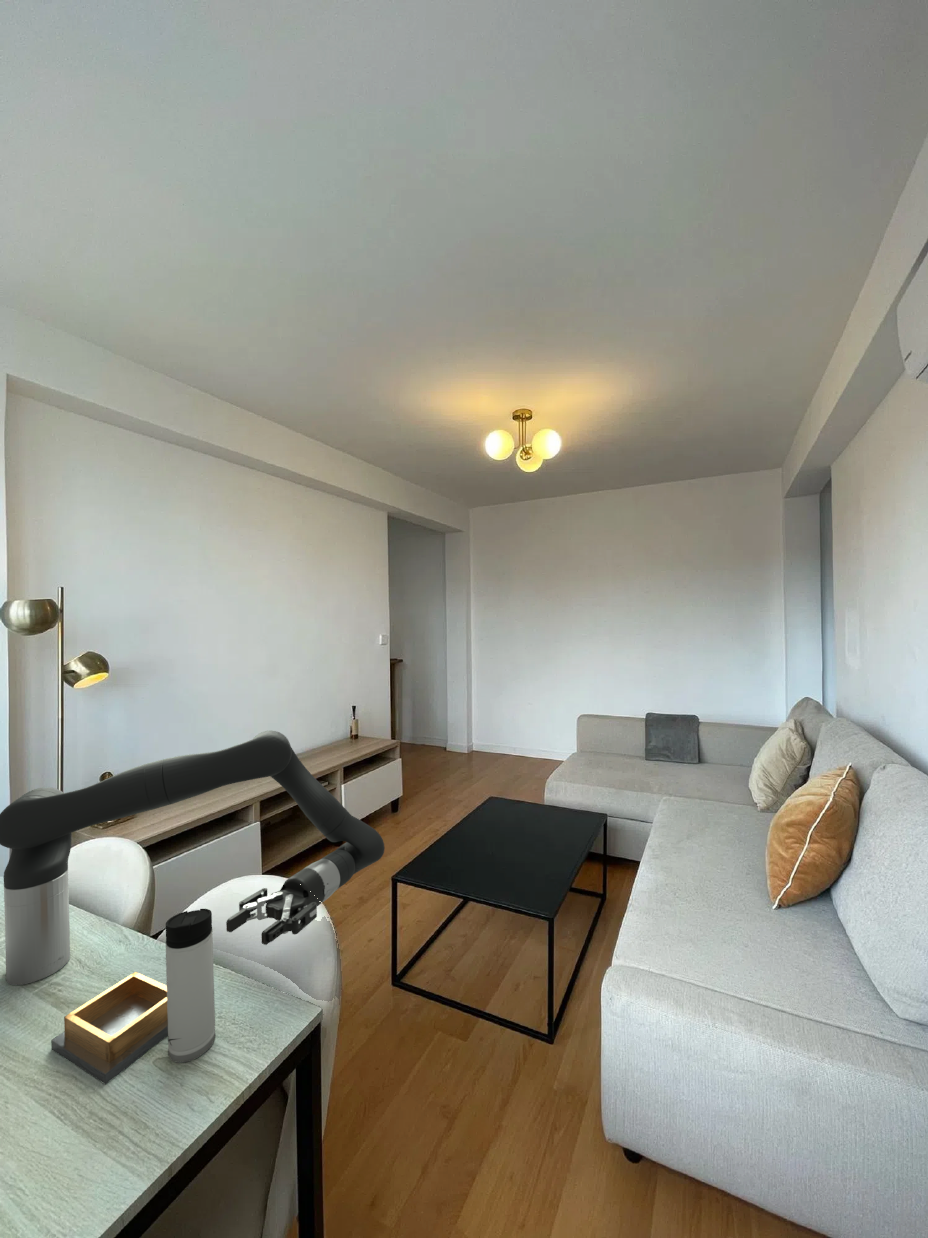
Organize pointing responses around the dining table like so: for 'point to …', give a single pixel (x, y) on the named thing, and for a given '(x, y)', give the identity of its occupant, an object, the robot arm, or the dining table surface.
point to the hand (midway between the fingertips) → (245, 933)
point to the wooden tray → (115, 1027)
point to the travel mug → (190, 984)
